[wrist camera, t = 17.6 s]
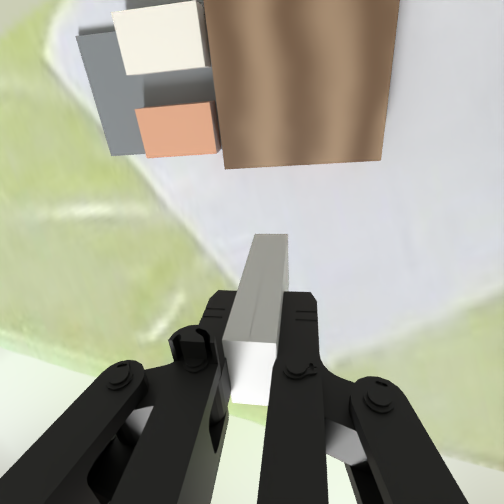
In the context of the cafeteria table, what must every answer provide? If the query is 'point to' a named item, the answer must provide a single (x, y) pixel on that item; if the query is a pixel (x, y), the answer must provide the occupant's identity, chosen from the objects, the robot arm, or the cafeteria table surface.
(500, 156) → the cafeteria table surface
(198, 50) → the cream tile
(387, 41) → the deck
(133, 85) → the mat
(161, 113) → the terracotta tile
